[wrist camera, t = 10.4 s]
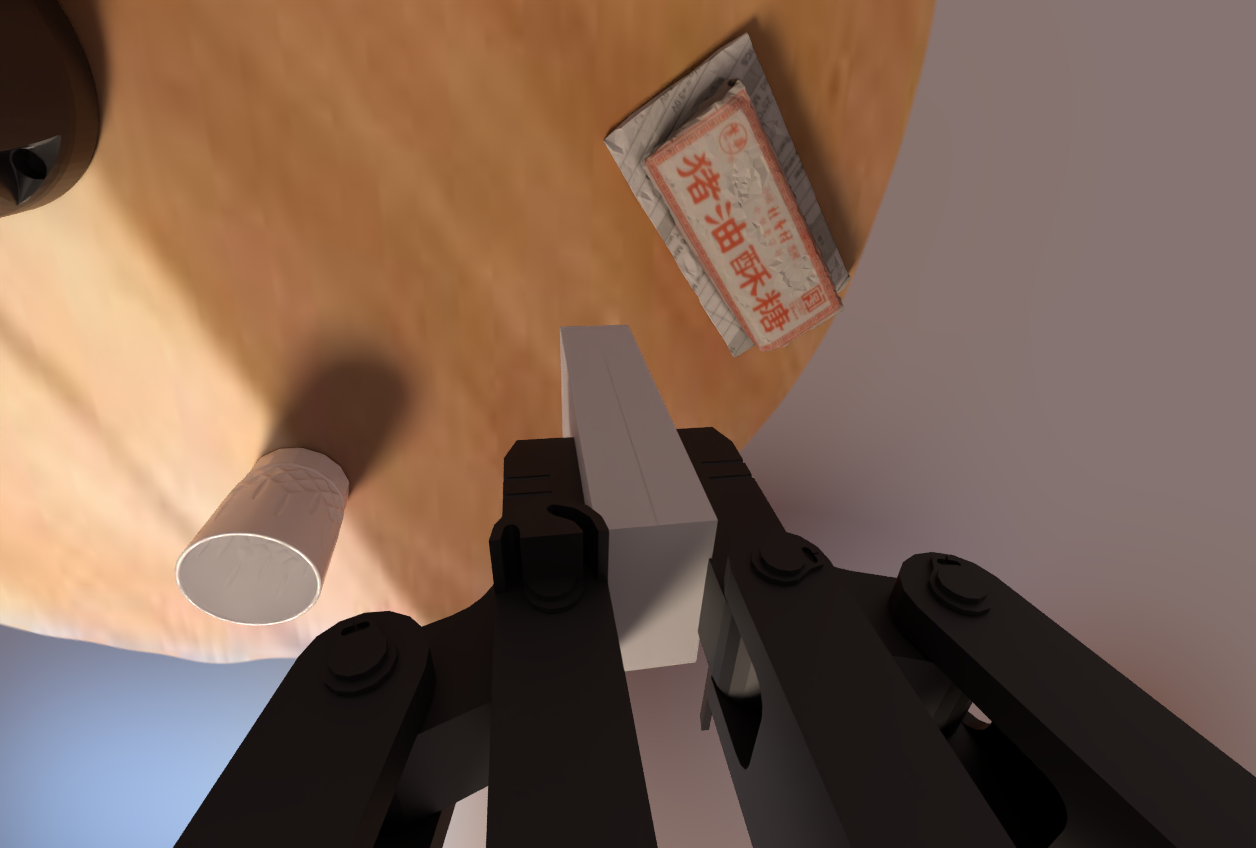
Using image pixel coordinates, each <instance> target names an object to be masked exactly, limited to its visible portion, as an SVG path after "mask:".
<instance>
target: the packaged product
mask: <svg viewBox="0 0 1256 848" xmlns="http://www.w3.org/2000/svg"><path fill="white" fill-rule="evenodd" d="M604 142H605V144H606V146H607V147H608V149H609V151H610V153H611V154H612V156H613V158H614V160H615V161H616V163H617V165H618V167H619V168H620V170H621V172H622V174H623V175H624V177H625V179H626V181H627V182H628V184H629V186H630V188H631V190H632V191H633V193H634V195H635V197H636V198H637V200H638V201H639V203H640V204H641V206H642V207H643V209H644V211H645V212H646V214H647V215H648V217H649V218H650V220H651V221H652V223H653V225H654V226H655V228H656V229H657V231H658V232H659V234H660V236H661V237H662V239H663V240H664V242H665V244H666V245H667V247H668V248H669V250H670V251H671V253H672V255H673V257H674V259H675V261H676V262H677V264H678V266H679V268H680V270H681V272H682V273H683V275H684V276H685V278H686V279H687V280H688V283H689V285H690V286H691V287H692V289H693V290H694V291H695V293H696V294H697V296H698V297H699V300H700V303H701V304H702V306H703V308H704V309H705V311H706V313H707V314H708V316H709V318H710V319H711V321H712V323H713V324H714V326H715V327H716V328H717V330H718V331H719V333H720V334H721V336H722V337H723V339H724V340H725V342H726V344H727V346H728V347H729V349H730V351H731V353H732V355H733V357H735V358H736V357H737V356H738V355H740V354H741V353H743V352H745V351H746V350H748V349H749V348H751V347H753V346H754V345H756V346H757V348H758V349H759V350H761V351H764V352H767V351H771V350H774V349H776V348H779V347H786V346H787V345H789V343H790V342H791V341H792V340H794V339H795V338H797V337H799V336H801V335H802V334H804V333H805V332H807V331H808V330H810V329H814V328H816V327H817V326H818V325H820V324H823V323H824V322H825V321H826V320H827V319H829V318H831V317H832V316H834V315H836V314H838V313H840V312H842V311H843V310H844V306H843V304H842V302H841V298H840V297H839V296H838V295H837V293H838V292H839V291H842V290H844V288H845V287H846V285H847V283H848V282H849V280H850V276H849V274H848V272H847V270H846V268H845V267H844V263H843V262H842V259H841V256H840V254H839V251H838V249H837V247H836V244H835V242H834V240H833V238H832V235H831V233H830V230H829V228H828V225H827V223H826V221H825V219H824V216H823V213H822V211H821V209H820V206H819V204H818V202H817V200H816V197H815V194H814V191H813V188H812V186H811V183H810V181H809V179H808V177H807V175H806V173H805V170H804V167H803V165H802V163H801V160H800V158H799V156H798V153H797V151H796V149H795V147H794V144H793V142H792V139H791V137H790V135H789V133H788V131H787V129H786V126H785V123H784V120H783V117H782V115H781V112H780V110H779V108H778V105H777V103H776V100H775V98H774V96H773V94H772V91H771V89H770V86H769V83H768V81H767V79H766V77H765V74H764V72H763V69H762V66H761V64H760V62H759V61H758V58H757V56H756V53H755V51H754V49H753V46H752V43H751V40H750V38H749V35H748V34H747V32H746V33H745V34H743V35H741V36H740V37H738V38H736V39H735V40H733V41H731V42H729V43H728V44H726V45H724V46H723V47H721V48H720V49H718V50H717V51H716V52H715V53H713V54H712V55H711V56H710V57H709V58H707V59H706V60H705V61H704V62H703V63H701V64H700V65H699V66H698V67H697V68H695V69H694V70H693V71H692V72H691V73H689V74H688V75H687V76H685V77H684V78H682V79H681V80H679V81H678V82H676V83H674V84H673V85H671V86H670V87H668V88H667V89H666V90H664V91H663V92H661V93H660V94H659V95H657V96H656V97H655V98H653V99H652V100H650V101H649V102H648V103H646V104H645V105H643V106H642V107H641V108H639V109H638V110H637V111H635V112H634V113H632V114H631V115H630V116H629V117H628V118H627V119H626V120H624V121H623V122H622V123H621V124H620V125H619V126H618V127H617V128H616V129H615V130H614V131H613V132H611V133H610V134H609V135H608V136H607V137H606V138H605V139H604Z"/></svg>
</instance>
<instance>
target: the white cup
mask: <svg viewBox="0 0 1256 848" xmlns="http://www.w3.org/2000/svg"><path fill="white" fill-rule="evenodd" d="M348 496H349V481H348V479H347V477H346V475H345V474H344V472H343V470H342V468H341V467H340V466H339V465H338V464H337V463H335V462H334V461H332V460H331V459H330V458H328V457H327V456H326V455H324V454H322V453H318V452H315V451H311V450H308V449H305V448H283V449H278V450H275V451H273V452H271V453H269V454H267V455H265V456H263V457H261V458H260V459H259V460H258V462H257V463H256V464H255V466H254V467H253V468H252V469H251V471H250V472H249V473H248V474H247V476H246V477H245V478H244V479H243V480H242V481H241V482H239V483H238V484H237V485H236V487H235V488H234V489H233V490H232V491H231V492H230V493H229V495H228V496H227V497H226V498H225V499H224V500H223V502H222V503H221V504H220V506H219V507H218V508H217V509H216V511H215V512H214V513H213V514H212V516H211V517H210V518H209V519H208V521H207V522H206V523H205V525H204V526H203V527H202V528H201V530H200V531H199V532H198V533H197V535H196V536H195V537H194V538H193V540H192V541H191V542H190V543H189V545H188V546H187V547H186V548H185V550H184V551H183V552H182V553H181V555H180V556H179V558H178V560H177V562H176V566H175V579H176V583H177V585H178V588H179V589H180V591H181V593H182V594H183V595H184V597H185V598H186V599H187V600H188V601H189V602H190V603H192V604H193V605H194V606H195V607H197V608H198V609H200V610H201V611H203V612H205V613H207V614H209V615H211V616H213V617H216V618H218V619H221V620H224V621H228V622H232V623H237V624H243V625H272V624H278V623H283V622H286V621H289V620H292V619H295V618H297V617H299V616H301V615H302V614H304V613H305V612H307V611H308V610H309V609H310V608H311V607H312V606H313V605H314V604H315V603H316V601H317V600H318V598H319V596H320V593H321V590H322V587H323V583H324V580H325V577H326V574H327V570H328V567H329V564H330V561H331V558H332V555H333V552H334V549H335V545H336V542H337V539H338V535H339V531H340V528H341V524H342V520H343V516H344V510H345V507H346V504H347V501H348Z"/></svg>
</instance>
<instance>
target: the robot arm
mask: <svg viewBox="0 0 1256 848" xmlns="http://www.w3.org/2000/svg"><path fill="white" fill-rule="evenodd" d="M98 122H99V116H98V103H97V95H96V90H95V85H94V81H93V77H92V74H91V70H90V67H89V64H88V61H87V59H86V56H85V54H84V51H83V49H82V46H81V44H80V42H79V40H78V38H77V36H76V34H75V32H74V30H73V28H72V26H71V24H70V22H69V21H68V19H67V17H66V15H65V14H64V12H63V10H62V9H61V7H60V6H59V4H58V3H57V1H56V0H0V218H1V217H5V216H9V215H13V214H16V213H20V212H24V211H28V210H31V209H35V208H38V207H41V206H43V205H46V204H48V203H50V202H52V201H54V200H56V199H57V198H59V197H60V196H62V195H63V194H65V193H66V192H67V191H68V190H70V189H71V188H72V187H73V186H74V185H75V184H76V183H77V181H78V180H79V179H80V178H81V177H82V175H83V173H84V172H85V170H86V169H87V167H88V165H89V163H90V161H91V158H92V155H93V153H94V150H95V146H96V141H97V135H98ZM560 348H561V386H562V425H563V438H548V439H531V440H517V441H516V442H515V444H514V445H513V446H512V448H511V449H510V450H509V452H508V453H507V455H506V456H505V457H504V482H503V512H502V518H501V519H500V520H499V521H498V522H497V523H496V524H495V525H494V527H493V530H492V533H491V536H490V539H489V547H490V555H491V564H492V572H493V581H494V584H493V586H492V587H491V588H490V589H489V590H488V592H487V593H486V594H485V595H484V596H483V597H482V598H481V599H479V600H478V601H477V602H475V603H474V604H472V605H471V606H470V607H468V608H466V609H464V610H462V611H460V612H458V613H456V614H454V615H452V616H449V617H446V618H444V619H441V620H438V621H436V622H433V623H430V624H428V625H425V626H422V627H421V626H420V625H419V624H418V623H417V622H416V621H414V620H413V619H412V618H411V617H410V616H406V615H402V614H399V613H395V612H391V611H382V612H369V613H363V614H360V615H357V616H354V617H352V618H349V619H346V620H343V621H340V622H338V623H337V624H335V625H334V626H332V627H331V628H329V629H328V630H326V631H325V632H323V633H322V634H320V635H318V636H317V637H316V638H315V639H314V640H313V641H312V642H311V643H310V645H309V646H308V647H307V648H306V649H305V650H304V651H303V652H302V653H301V655H300V656H299V657H298V658H297V660H296V661H295V663H294V664H293V666H292V667H291V669H290V670H289V672H288V673H287V675H286V677H285V678H284V680H283V681H282V683H281V684H280V686H279V687H278V689H277V690H276V692H275V693H274V695H273V696H272V698H271V699H270V701H269V702H268V704H267V705H266V707H265V708H264V710H263V712H262V713H261V715H260V716H259V718H258V719H257V721H256V722H255V724H254V725H253V727H252V728H251V730H250V731H249V733H248V734H247V736H246V737H245V739H244V741H243V742H242V743H241V745H240V746H239V748H238V749H237V751H236V753H235V754H234V756H233V757H232V759H231V760H230V762H229V763H228V765H227V766H226V768H225V769H224V771H223V772H222V774H221V775H220V777H219V778H218V780H217V782H216V783H215V785H214V786H213V788H212V789H211V791H210V792H209V794H208V795H207V797H206V798H205V800H204V801H203V803H202V804H201V806H200V807H199V809H198V810H197V812H196V813H195V815H194V816H193V818H192V819H191V821H190V822H189V824H188V826H187V827H186V829H185V830H184V832H183V833H182V835H181V836H180V838H179V840H178V841H177V842H176V844H175V845H174V847H173V848H442V847H443V843H444V840H445V837H446V834H447V830H448V827H449V824H450V820H451V817H452V814H453V811H454V807H455V804H456V802H458V801H460V800H462V799H464V798H466V797H468V796H469V795H471V794H473V793H475V792H477V791H479V790H481V789H483V788H485V787H487V786H488V807H487V836H486V837H487V838H486V848H658V847H657V842H656V836H655V832H654V826H653V820H652V815H651V810H650V804H649V800H648V794H647V788H646V783H645V778H644V772H643V767H642V762H641V756H640V751H639V746H638V741H637V735H636V730H635V724H634V719H633V714H632V709H631V703H630V698H629V692H628V687H627V682H626V677H625V671H630V670H639V669H645V668H654V667H662V666H670V665H678V664H685V663H693V662H696V658H697V651H698V645H699V638H700V641H701V644H702V647H703V650H704V653H705V656H706V659H707V662H708V665H709V668H708V673H707V679H706V685H705V690H704V696H703V701H702V707H701V713H700V719H701V730H709V726H710V721H711V716H713V719H714V722H715V725H716V729H717V732H718V735H719V738H720V742H721V745H722V748H723V751H724V755H725V758H726V761H727V764H728V768H729V771H730V774H731V777H732V781H733V784H734V787H735V790H736V794H737V797H738V800H739V804H740V807H741V810H742V813H743V816H744V820H745V823H746V826H747V830H748V833H749V836H750V839H751V843H752V846H753V848H1256V777H1255V776H1253V775H1252V774H1251V773H1250V772H1248V771H1247V770H1246V769H1244V768H1243V767H1242V766H1241V765H1239V764H1238V763H1237V762H1235V761H1234V760H1233V759H1231V758H1230V757H1229V756H1228V755H1226V754H1225V753H1224V752H1222V751H1221V750H1219V749H1218V748H1217V747H1215V746H1214V745H1213V744H1212V743H1211V742H1209V741H1208V740H1207V739H1206V738H1204V737H1203V736H1202V735H1200V734H1199V733H1198V732H1196V731H1195V730H1194V729H1192V728H1191V727H1190V726H1189V725H1187V724H1186V723H1185V722H1184V721H1182V720H1181V719H1180V718H1178V717H1177V716H1176V715H1174V714H1173V713H1172V712H1171V711H1169V710H1168V709H1167V708H1165V707H1164V706H1163V705H1161V704H1160V703H1159V702H1158V701H1156V700H1155V699H1153V698H1152V697H1151V696H1150V695H1149V694H1147V693H1146V692H1145V691H1143V690H1142V689H1141V688H1139V687H1138V686H1137V685H1136V684H1134V683H1133V682H1132V681H1130V680H1129V679H1128V678H1126V677H1125V676H1124V675H1123V674H1121V673H1120V672H1119V671H1117V670H1116V669H1115V668H1114V667H1112V666H1111V665H1110V664H1108V663H1107V662H1106V661H1104V660H1103V659H1102V658H1101V657H1099V656H1098V655H1097V654H1095V653H1094V652H1093V651H1092V650H1090V649H1089V648H1087V647H1086V646H1085V645H1084V644H1082V643H1081V642H1080V641H1079V640H1077V639H1076V638H1075V637H1073V636H1072V635H1071V634H1069V633H1068V632H1067V631H1066V630H1064V629H1063V628H1062V627H1060V626H1059V625H1058V624H1057V623H1055V622H1054V621H1053V620H1051V619H1050V618H1049V617H1048V616H1046V615H1045V614H1044V613H1042V612H1041V611H1040V610H1038V609H1037V608H1036V607H1035V606H1033V605H1032V604H1031V603H1029V602H1028V601H1027V600H1025V599H1024V598H1023V597H1022V596H1020V595H1019V594H1018V593H1016V592H1015V591H1014V590H1012V589H1011V588H1010V587H1009V586H1007V585H1006V584H1005V583H1004V582H1002V581H1001V580H1000V579H998V578H997V577H996V576H994V575H993V574H991V573H989V572H988V571H986V570H985V569H983V568H981V567H980V566H978V565H976V564H974V563H972V562H969V561H967V560H964V559H962V558H959V557H956V556H954V555H948V554H941V553H935V552H929V553H922V554H915V555H913V556H912V557H910V558H909V559H907V560H906V561H904V562H903V564H902V567H901V569H900V571H899V574H898V576H897V578H893V577H887V576H881V575H874V574H868V573H861V572H855V571H849V570H844V569H840V568H836V567H834V566H833V565H832V563H831V562H830V560H829V559H828V558H827V557H826V556H825V555H824V553H823V552H822V551H821V550H820V549H819V548H818V547H817V546H815V545H814V544H812V543H810V542H809V541H807V540H805V539H804V538H802V537H800V536H798V535H794V534H791V533H788V532H786V531H785V529H784V527H783V526H782V524H781V522H780V521H779V519H778V517H777V516H776V514H775V512H774V511H773V509H772V507H771V506H770V504H769V502H768V501H767V499H766V497H765V496H764V494H763V493H762V491H761V489H760V487H759V486H758V484H757V482H756V481H755V479H754V478H752V476H751V473H750V471H749V469H748V467H747V466H746V464H745V463H743V459H742V457H741V456H740V454H739V452H738V451H737V449H736V447H735V446H734V444H733V442H732V441H731V440H729V439H728V438H727V437H725V436H724V435H722V434H721V433H720V432H718V431H717V430H716V429H714V428H713V427H704V428H687V429H676V428H675V426H674V424H673V421H672V419H671V417H670V415H669V413H668V411H667V408H666V406H665V404H664V402H663V400H662V398H661V395H660V393H659V391H658V389H657V387H656V384H655V382H654V380H653V378H652V376H651V374H650V371H649V369H648V367H647V365H646V363H645V361H644V358H643V356H642V354H641V352H640V350H639V347H638V345H637V343H636V341H635V339H634V337H633V334H632V332H631V330H630V328H629V326H628V325H605V326H567V327H560ZM972 702H973V703H974V704H975V705H976V706H977V707H978V708H979V709H980V710H981V711H982V712H983V713H984V714H985V715H986V716H987V717H988V718H989V719H990V720H991V721H992V722H991V724H989V723H985V722H983V721H980V720H978V719H977V718H976V717H974V716H973V715H972V714H971V713H969V712H968V709H969V708H970V706H971V704H972Z"/></svg>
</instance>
